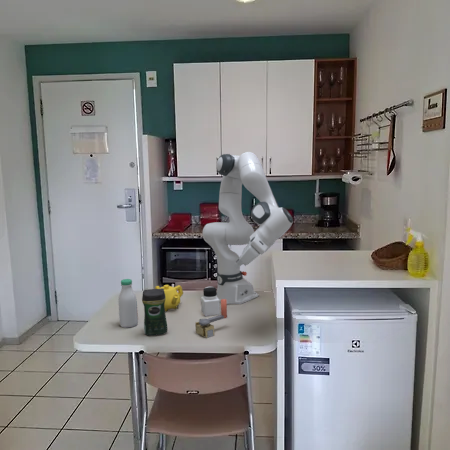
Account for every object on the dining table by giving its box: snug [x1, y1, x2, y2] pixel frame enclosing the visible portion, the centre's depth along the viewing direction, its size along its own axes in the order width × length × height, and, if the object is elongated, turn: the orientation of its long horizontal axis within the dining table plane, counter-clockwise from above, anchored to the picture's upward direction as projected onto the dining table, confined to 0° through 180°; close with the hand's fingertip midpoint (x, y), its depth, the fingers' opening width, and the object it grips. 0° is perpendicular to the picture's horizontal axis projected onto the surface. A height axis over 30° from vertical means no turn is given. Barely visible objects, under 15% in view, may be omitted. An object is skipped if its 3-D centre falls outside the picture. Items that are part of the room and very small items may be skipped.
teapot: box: [154, 284, 184, 312], centre depth 204 cm, size 20×18×11 cm
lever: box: [198, 299, 228, 326], centre depth 176 cm, size 13×4×8 cm, turn 127°
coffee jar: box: [141, 287, 169, 337], centre depth 176 cm, size 10×8×19 cm
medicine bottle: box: [200, 286, 221, 317], centre depth 196 cm, size 7×7×12 cm
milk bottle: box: [118, 278, 139, 328], centre depth 184 cm, size 8×8×20 cm
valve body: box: [194, 321, 215, 339], centre depth 175 cm, size 8×5×4 cm, turn 37°
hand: (236, 264), depth 175 cm, fingers open, 5 cm apart
